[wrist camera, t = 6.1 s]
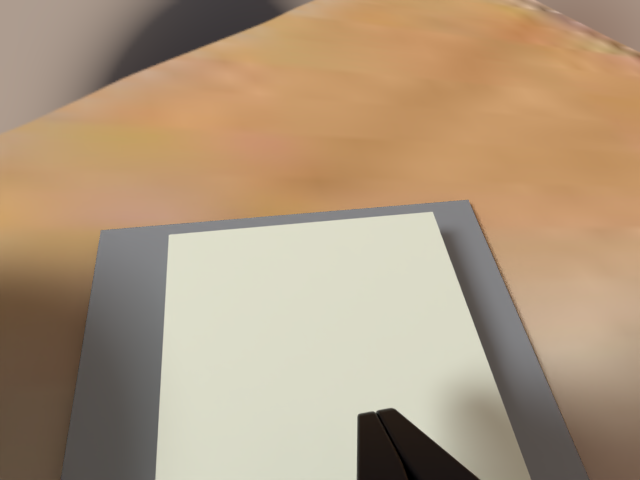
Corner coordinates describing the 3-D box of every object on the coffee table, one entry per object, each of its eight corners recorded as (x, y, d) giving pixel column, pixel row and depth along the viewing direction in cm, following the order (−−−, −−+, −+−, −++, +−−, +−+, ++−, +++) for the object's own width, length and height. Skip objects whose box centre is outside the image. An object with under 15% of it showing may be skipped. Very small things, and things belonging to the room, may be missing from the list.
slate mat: (639, 618, 12) (652, 625, 12) (16, 819, 9) (2, 839, 9) (464, 204, 20) (468, 199, 20) (105, 235, 17) (100, 230, 17)
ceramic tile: (556, 549, 10) (432, 211, 16) (145, 661, 9) (168, 234, 14) (509, 527, 13) (414, 236, 18) (173, 612, 11) (184, 259, 16)
